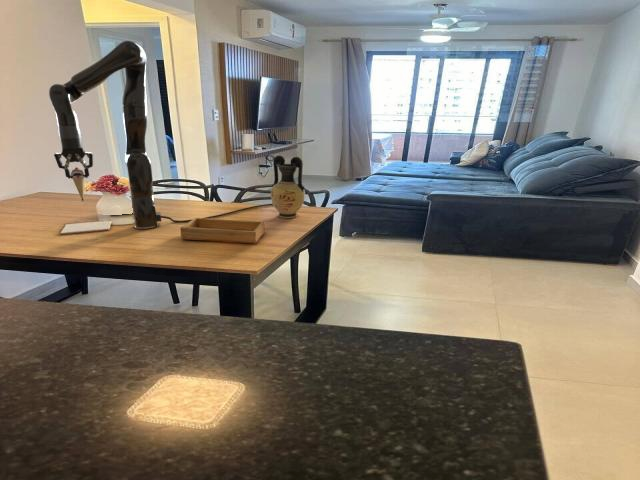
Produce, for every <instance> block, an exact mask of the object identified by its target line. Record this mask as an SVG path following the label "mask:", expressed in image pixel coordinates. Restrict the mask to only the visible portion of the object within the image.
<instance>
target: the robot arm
mask: <svg viewBox="0 0 640 480" xmlns="http://www.w3.org/2000/svg"><path fill="white" fill-rule="evenodd" d="M122 69H124V70H125V71H124V72H125V85H124V90H123V94H122V103H121V104H122V119H123V127H124V133H125V157H124V162H125V165H126V168H127V175H128V176H127V177H128V187H129V194H130V199H131V201H130V202H132V208H133V214H132V220H133V221H134V223H133V224H134V229H137V230H149V229H154V228H158V227H159V226H158V222H162V219H167V220H170V221H171V222H174V223H188V222H190V221H191V220H193V219H194V218H193V219H192V218H191V219H186V220H185V219H183V220H177V219H173V218H172V217H170V216H165V215H161V212H157V211H156V209H157V208H156V203H155V196H154V195H155V194H154V185H153V184H154V183H153V169H152V163H151V162H152V161H151V159H150V157H149V156H148V154H147V148H146V147H147V146H146V134H147V127H148V101H147V88H146V71H147V55H146V51H145V50H144V49H143V48H142V46H141V45H139V44H137V43H136V42H135V41H132V40H123V41H121V42H120V43H119V44H117V45H116V46H115V47H114V48H113V49H112V50H111V51H110V52H109V53H107V54H106V55H105V56H103V57H102V58H101V59H99V60H97V61H96V62H94V63H92V64H91V65H89V66H88V67H85V68H84V69H82V70H80V71H79V72H77V73H75V74H74V75H72V77H71V78H70V80H69V81H67V82H65V83H63V84H60V83H54V84H52V85H51V86H50V87H49V89H48V97H49V100H50V103H51V106H52V107H53V110H54V112H55V114H56V121H57V126H58V135H59V140H60V145H61V152H59V153H58V152H56V153H54V154H53V157H54V159H55V163H56V164H57V166H58V168H59V169H62V170H64V174H65V177H66V178H67V179H69V180H71V178H70V176H71V171H70V168H69V167H70V165H71V163H80V164H81V165H82V167H83V168H84V169H83V173H84V175H85V179H88V178H89V177H90V170H89V169H90V168H92V167H93V166H94V153H93V152H87V151H85V149H84V144H83V138H82V132H81V129H80V125H79V120H78V115H77V112H76V111H75V110H73V107H72V104H73V103H74V102H76V101H77V100H79V99H80V98H81V97H82V96H84V95H85V94H87V93H88V92H90V91H92V90H93V89H95V88H97V87H98V86H100V85H102V84H103V83H105V81H106V80H108V79H109V77H110V76H112V75H114V74H115V73H116V72H118V71H120V70H122ZM85 156H86V157H87V159H88V164H87V162H86V160H85V159H84V158H85ZM62 157H63V158H64V159H65V162H64V163H65V164H63V162H62ZM267 206H274V205H273V203H272V202H271V203H265V204H264V203H263V204H258V205H253V206H252V205H251V206H248V207H244V208H240V209H236V210H231V211H228V212H225V213H220V214H215V215H211V216H204V218H207V219H215V218H218V217H222V216H227V215H231V214H234V213H238V212H241V211H242V212H243V211H245V210H250V209H255V208H260V207H261V208H262V207H267Z"/></svg>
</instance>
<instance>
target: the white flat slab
mask: <svg viewBox="0 0 640 480" xmlns="http://www.w3.org/2000/svg"><path fill="white" fill-rule="evenodd" d="M111 224H112V221H104V220H94V221H93V220H92V221H81V222H69V223H65V226H63V229H62V230H61V231H60V232H59V235H60V236H63V235H64V236H65V235H74V234H86V233H95V232H98V233H99V232H109V231H110V228H111Z"/></svg>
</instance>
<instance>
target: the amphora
mask: <svg viewBox="0 0 640 480" xmlns="http://www.w3.org/2000/svg"><path fill="white" fill-rule="evenodd" d="M272 162H273V164H272V165H273V172H274V175H273V176H274V179H273V180H274V181H273V184H271V189H270V200H271V204H272V203H273V205H272V206H273V207H274V209H276V211H278V217H280V218H281V219H294V218H296V217H298V214H297V212H298V211H299V210H300V209H301V208H302V207H303V205H304V203H305V197H306V192H305V191H306V190H305V186H304V184H303V170H304V169H303V165H304V164H303V163H304V161H303V160H302V158H301V157H300V156H293V157H292V158H291V159H290V162H289V163H286V159H285V157H284V156H283V155H280V154H279V155H276V156H274V157H273V161H272ZM297 168H298V171H297ZM296 171H297V182H296V181H295V173H296ZM279 172H280V173H281V177H280V181H279Z"/></svg>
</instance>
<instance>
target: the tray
mask: <svg viewBox="0 0 640 480" xmlns="http://www.w3.org/2000/svg"><path fill="white" fill-rule="evenodd" d="M190 220H191V219H190ZM179 228H180V239H181V240H191V241H192V240H193V241H208V242H209V241H210V242H222V243H223V242H225V243H239V244H254V245H255V244H257V242H258V241H259V240H260V239H261V237H262V236H263V235H264V234H265V221H257V220H239V219H238V220H237V219H222V218H209V219H207V218H205V217H194V218H193V220H191V221H190V222H186V223H185V224H183V225H182V226H180V227H179Z"/></svg>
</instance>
